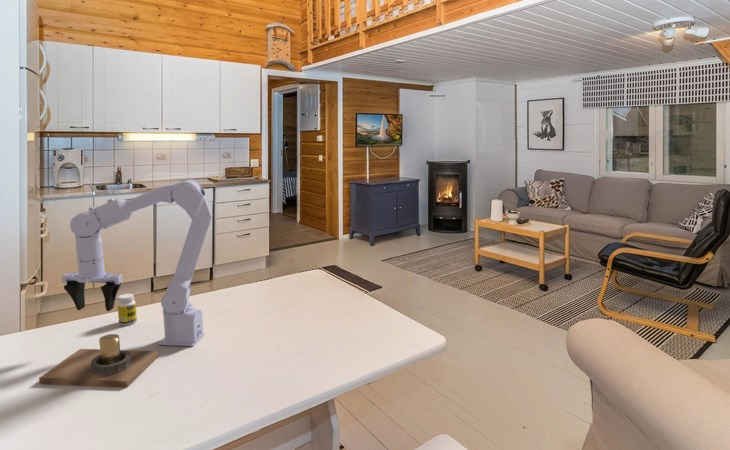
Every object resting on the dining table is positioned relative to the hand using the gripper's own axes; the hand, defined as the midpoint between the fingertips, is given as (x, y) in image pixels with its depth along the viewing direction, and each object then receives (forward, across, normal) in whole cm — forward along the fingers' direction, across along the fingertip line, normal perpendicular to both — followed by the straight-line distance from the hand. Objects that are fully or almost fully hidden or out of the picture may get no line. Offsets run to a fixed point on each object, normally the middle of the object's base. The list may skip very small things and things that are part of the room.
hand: (95, 309), depth 116 cm
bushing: (+9, +11, -12) cm, 19 cm away
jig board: (+10, +8, -12) cm, 17 cm away
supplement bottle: (+11, -1, +16) cm, 19 cm away
